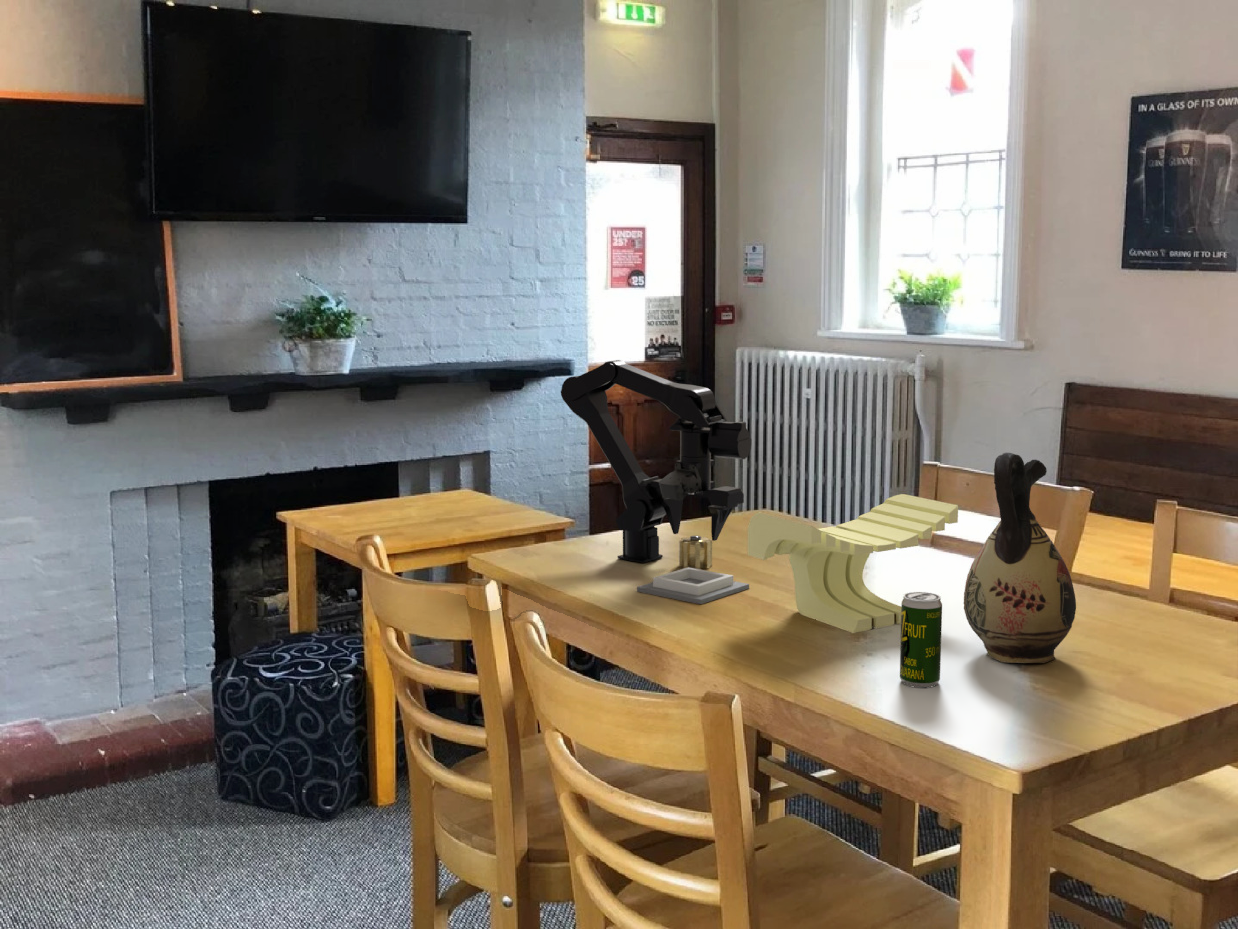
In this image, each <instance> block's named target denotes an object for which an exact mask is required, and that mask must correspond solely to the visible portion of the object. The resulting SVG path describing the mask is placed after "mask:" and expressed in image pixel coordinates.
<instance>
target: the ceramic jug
mask: <svg viewBox="0 0 1238 929" xmlns="http://www.w3.org/2000/svg"><path fill="white" fill-rule="evenodd" d="M993 467H994V468H993V478H994V480H993V483H994V490H995V496H996V501H997V506H998V509H999V517H1000V520H999V521H998V523H997V525H996V527H994V529H993V530H992V531H991V532H990V535H988V537H987V538H986V540H985V542H984V543H983V545H982V546H981V547H980V549H979V551H978V552H977V553H976V556H975V558H974V560H973V561H972V563H971V565H970V568H969V571H968V573H967V576H966V580H965V586H964V592H963V610H964V614H965V617H966V618H965V619H966V620H967V623H968V624H969V626H970V628H971V629H972V631H973V632H974V633H975V634H976V635H977V637H978V638H979V639H980V640H981V641H982V643H983V646H984V649H985V651H986V652H987V653H986V654H987V655H988V657H990V658H992V659H994V660H996V661H999V662H1001V663H1005V664H1006V663H1009V664H1011V663H1018V664H1045V663H1048V662H1050V661H1053V660H1055V659H1056V657H1055V655H1054V654H1055V650H1056V648H1058V646H1060V644H1061V643H1062V642H1063V641H1064V639H1065V638H1066V637H1067V636H1068V634H1069V632H1070V631H1071V629H1072V626H1073V622H1074V620H1075V617H1076V611H1077V610H1076V609H1077V600H1076V593H1075V588H1074V585H1073V581H1072V576H1071V574H1070V571H1069V569H1068V567H1067V564H1066V562H1065V561H1064V559H1063V557H1062V555H1061V553H1060V552H1059V550H1058V549H1057V547H1056V546H1055V544H1054V543H1053V540H1051V538H1050V537H1049V535H1048V534H1047V532H1046V531H1045V530H1044V528H1043V527H1042V526H1041V524H1040V523H1039V522H1038V521H1037V518H1036V515H1035V514H1034V513H1033V512H1032V510H1031V508H1030V502H1031V501H1030V500H1031V492H1032V491H1031V490H1032V487H1033V485H1035V484H1036V483H1037V482H1038V481H1039V480H1040V479H1042V478H1044V477H1046V475H1047V466H1046V465H1045V464H1044V463H1043V462H1042V461H1040V460H1038V459H1032V460H1029V461H1027V462H1024V460H1023V458H1022V456H1021V455H1019V454H1015V453H1012V452H1004V453H1002V454H1000V455H998V456H997V457H996V458H995V461H994V466H993Z"/></svg>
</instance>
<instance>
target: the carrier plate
mask: <svg viewBox="0 0 1238 929" xmlns="http://www.w3.org/2000/svg"><path fill="white" fill-rule="evenodd" d="M749 589H750V584H749V583H745V582H740V581H734V575H733V574H727V573H722V572H721V573H720V572H715V571H711V570H705V569H695V568H689V567H688V568H684V567H683V568H681V569H677V570H675V571H671V572H668V573H667V572H666V573H665V574H661V575H657V576H654V577H653V578H652V582H649V583H646V584H645V583H644V584H641V585H639V586H636V592H637V593H638V592H639V593H642V594H649V595H653V596H658V597H663V598H668V599H673V600H676V601H682V602H687V603H693V604H697V605H703V604H706V603H709V602H712V601H715V600H719V599H721V598H724V597H728V596H730V595H731V596H732V595H734V594H737V593H740V592H743V591H746V590H749Z"/></svg>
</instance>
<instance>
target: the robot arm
mask: <svg viewBox="0 0 1238 929" xmlns="http://www.w3.org/2000/svg"><path fill="white" fill-rule="evenodd" d="M615 385H618V386H620V387H622V388H625V389H628V390H630V391H632V392H635V393H638V394H640V395H643V396H645V397H647V398H649V399H652V400H655V401H658V402H660V403H661V404H663V405H664V406H666V408H667V409H668V411H669V412H671V413H673V414H674V415H676V416H677V417H678V418H677V419H676V421H675V422H674V423H672V424H671V425H670V426H669V430H670V431H675V432H676V431H677V432H679V436H680V439H679V441H680V443H679V444H680V445H679V447H680V448H679V451H680V452H679V453H680V454H679V458H680V459H679V460H676V461H675V464H674V470H673V471H672V472H669V473H668V474H667V475H666V476H664V477H663V478H660V476H659V475H657V476H653V477H651V476H649V475H648V474H646V473H645V472H644V471H643V469H642V467H641V465H640V463H639V461H638V460H637V458H636V456H635V455H634V453H633V451H632V449H630V446H629V445H628V443H627V441H626V440H625V438H624V436H623V433H621V431H620V429H619V427H618V426H617V424H616V422H615V420H614V419H613V417H612V415H611V414H610V411H609V404H608V403H609V402H608V395H607V393H606V392H607V391H609V390H610V389H611V388H613V387H614V386H615ZM560 396H561V399H562V400H563V401H564V403H565V404H566V405H567V407H568V408H569V410H571V412H572V413H574V414H575V415H576V416H578V417H579V418H580V419H581V420H583V421H584V422H585V423H586V424H587V427H588V428H589V429H590V431H591V433H592V435H593V437H594V438H595V440H596V442H597V443H598V445H599V447H600V449H601V451H602V452H603V454H604V455H605V457H606V459H607V461H608V463H609V464H610V466H611V468H612V469H613V471H614V473H615V475H616V477H617V478H618V480H619V482H620V484H621V486H622V500H623V503H624V506H625V509H624V510H623V512H621V513H620V514H619V516H618V517H616V519H615V522H616V525H617V528H618V530H619V531H622V554H620V555H617V559H619V560H625V561H630V562H635V563H639V564H641V563H642V564H644V563H647V562H651V561H655V560H659V559H662V558H664V556H663V554H660V537H659V535H658V527H657V526H660V525H662V522H663V519H664V518H665V516H667V519H668V522H669V525H670V529H671V531H672V534H673V535H678V534H679V531H680V527H681V520H682V519H681V518H682V511H683V510H682V509H683V503H684V502H683V501H684V499H685V498H686V496H687V497H694V498H700V499H707V500H708V501H709V503H710V504H711V505H707V508H708V510H709V512H710V514H711V516H710V517H711V520H710V522H711V525H710V526H711V527H710V528H711V533H710V534H711V539H712V542H714V541H715V542H716V541H717V540H718V539H719V536H720V534H721V533H722V530H723V528H724V526H725V524H726V521H727V519H728V518H729V516H730V514H731V513H732V511H733V509H734V508H737V507H738V506H739V505H740V504H744V503H745V500H744V499H745V494H744V491H743V490H742V488H741V487H735V486H728V485H727V486H726V485H724V486H720V487H716V488H715V485H716V484H715V481H713V480H712V479H711V477H712V475H711V474H712V472H711V471H712V470H711V468H712V467H714V466H716V460H715V459H711V458H712V456H711V455H713V456H714V458H715V457H716V458H724V459H737V460H746V459H747V458H748V457H749V455H750V453H751V450H752V438H751V434H750V431H749V430H748V428H747V422H746V421H737V422H735V421H728V420H727V418H726V416H725V415H724V413H723V411H722V410H721V409H720V407H719V405H718V404H717V402H716V397H715V395H714V392H713V391H712V390H711V389H709V388H708V387H704V386H699V385H694V384H688V383H687V384H686V383H677V382H674V381H671V380H669V379H665V378H664V377H660V376H659V375H656V374H653V373H651V372H648V371H646V370H643V369H640V368H638V367H635V366H632V365H631V364H627V363H626V362H625V361H623V360H620V359H615V360H609V361H605V362H604V363H603V364H601V365H599V366H598V367H596V368H594V369H592V370H589V371H587V372H585V373H582V374H580V375H575V376H569V377H567V378H566V379H565V380H564V381H563V383H562V385H561V390H560Z"/></svg>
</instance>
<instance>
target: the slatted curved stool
mask: <svg viewBox="0 0 1238 929" xmlns="http://www.w3.org/2000/svg"><path fill="white" fill-rule="evenodd" d="M958 522H959V505H958V504H955V503H949V502H943V501H939V500H936V499H934V500H933V499H929V498H925V497H921V496H915V495H909V494H904V493H900V494H896V495H893V496H890V497H888V498H886V499H885V500H884V501H883V503H882V504H879V505H876V506H874V507H871V509H870V510H869V511H868V512H866V513H863V514H861V515H859V516H858V517H857V518H855V519H853V520H850V521H847V522H844V523H843V522H842V523H839V524H837V525H836V526H828V527H823V528H816V526H814V525H812V524H811V525H810V524H806V523H803V522H800V521H795V520H792V519H788V518H783V517H780V516H776V515H772V514H769V513H765V512H756V513H754V514H753V515H751V517H750V519H749V523H748V526H747V556H749V557H753V558H755V559H759V560H762V561H765V560H768V559H769V558H772V557H774V556H775V555H778V556H782V555H789V556H788V557H789V558H788V559H789V564H790V566H791V570H792V574H793V580H794V595H795V598H794V599H795V604H796V610H797V611H798V613H799V614H800V615H801V616H804V617H806V618H810V619H813V620H815V619H816V621H818V622H821V623H824V624H827V625H829V626H832V627H834V628H838V629H841V630H843V631H846V632H849V633H852V634H855V633H860V632H864V631H869V630H872V628H873V629H881V628H885V627H890V626H891V627H892V626H894V625H895V624H896V625H901V606H902V605H901V606H900V605H898V604H896V603H893V602H891V601H888V600H886V599H884V598H881V597H880V596H878V595H876V594H875V593H873V592H872V591H871V590H870V589H869V588H868V587H867V586H866V585H865V583H864V579H863V574H864V569H865V566H866V563H867V561H868V559H869V558H870V555H871V554H873V553H874V552H876V553H881V552H887V551H894V550H896V549H905V548H912V547H918V546H919V539H920V540H928V539H932V536H933V535H932V533H933V532H941V531H945V530H946V528H945V527H946V524H948V525H951V524H958ZM932 531H933V532H932Z"/></svg>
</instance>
